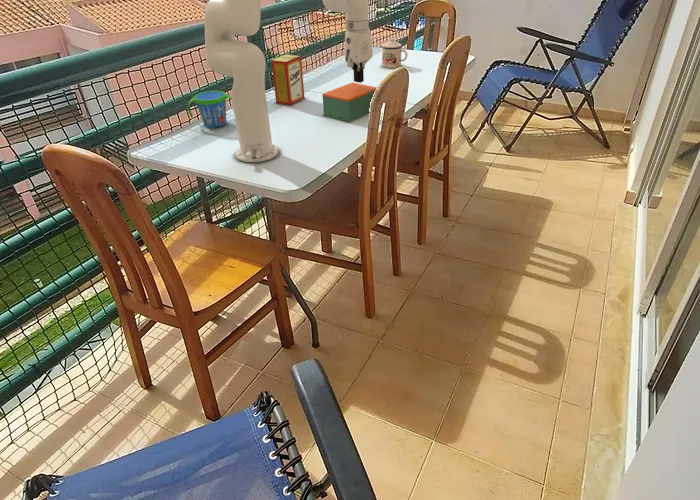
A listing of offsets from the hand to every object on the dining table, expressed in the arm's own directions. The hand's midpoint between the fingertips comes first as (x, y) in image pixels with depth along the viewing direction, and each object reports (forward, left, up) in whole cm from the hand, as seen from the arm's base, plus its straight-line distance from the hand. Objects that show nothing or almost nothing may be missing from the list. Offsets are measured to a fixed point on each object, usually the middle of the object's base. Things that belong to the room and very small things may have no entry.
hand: (358, 81), depth 173 cm
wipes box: (-4, +4, -10) cm, 11 cm away
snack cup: (-9, +51, -10) cm, 52 cm away
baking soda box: (+13, +26, -10) cm, 30 cm away
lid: (-4, +3, -3) cm, 5 cm away
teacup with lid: (+56, -20, -10) cm, 61 cm away
